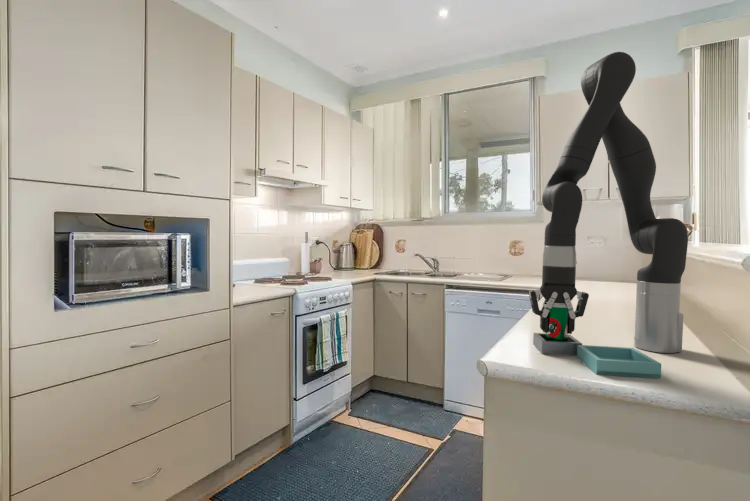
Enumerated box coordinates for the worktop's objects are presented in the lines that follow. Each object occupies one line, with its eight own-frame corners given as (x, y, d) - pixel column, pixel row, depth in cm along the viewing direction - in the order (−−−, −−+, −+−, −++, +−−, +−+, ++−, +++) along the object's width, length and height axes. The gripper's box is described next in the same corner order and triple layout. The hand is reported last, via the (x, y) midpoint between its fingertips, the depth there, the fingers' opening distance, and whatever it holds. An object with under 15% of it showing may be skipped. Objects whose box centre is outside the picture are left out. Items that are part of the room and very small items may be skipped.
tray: (632, 360, 94) (633, 347, 94) (660, 378, 82) (661, 363, 82) (577, 357, 96) (577, 344, 96) (596, 374, 84) (597, 359, 84)
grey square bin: (569, 346, 106) (570, 334, 106) (581, 356, 97) (582, 343, 97) (533, 344, 107) (533, 332, 107) (541, 353, 99) (542, 341, 98)
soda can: (569, 353, 99) (571, 304, 99) (547, 351, 100) (549, 303, 100) (564, 347, 104) (566, 300, 104) (543, 346, 105) (544, 299, 105)
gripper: (584, 264, 104) (582, 330, 105) (525, 262, 106) (523, 327, 107) (595, 266, 97) (593, 337, 97) (532, 264, 99) (529, 334, 100)
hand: (556, 332), depth 102 cm, fingers closed on soda can, 5 cm apart
